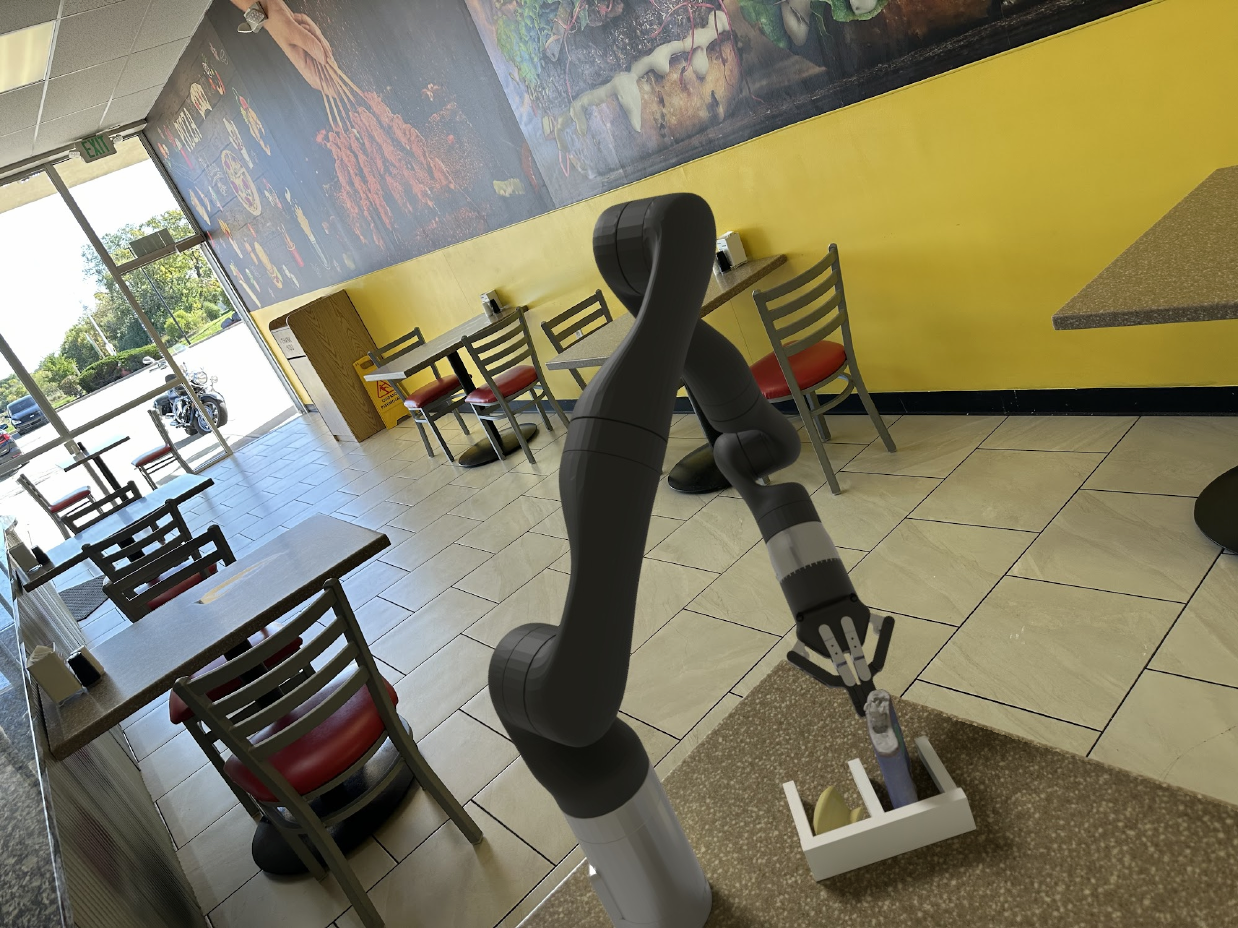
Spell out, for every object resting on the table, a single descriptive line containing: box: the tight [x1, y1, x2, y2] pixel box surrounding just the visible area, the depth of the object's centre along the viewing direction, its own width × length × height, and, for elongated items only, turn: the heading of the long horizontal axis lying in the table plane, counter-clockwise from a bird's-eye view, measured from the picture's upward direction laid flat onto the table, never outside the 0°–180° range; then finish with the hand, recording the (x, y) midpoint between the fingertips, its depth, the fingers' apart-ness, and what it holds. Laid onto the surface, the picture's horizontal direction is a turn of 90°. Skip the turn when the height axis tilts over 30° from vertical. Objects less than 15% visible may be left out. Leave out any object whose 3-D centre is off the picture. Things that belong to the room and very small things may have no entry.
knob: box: [813, 785, 865, 836], centre depth 77 cm, size 5×5×5 cm
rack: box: [782, 735, 977, 883], centre depth 78 cm, size 16×10×4 cm, turn 92°
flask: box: [864, 688, 920, 810], centre depth 79 cm, size 9×3×11 cm, turn 169°
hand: (874, 719), depth 83 cm, fingers closed
